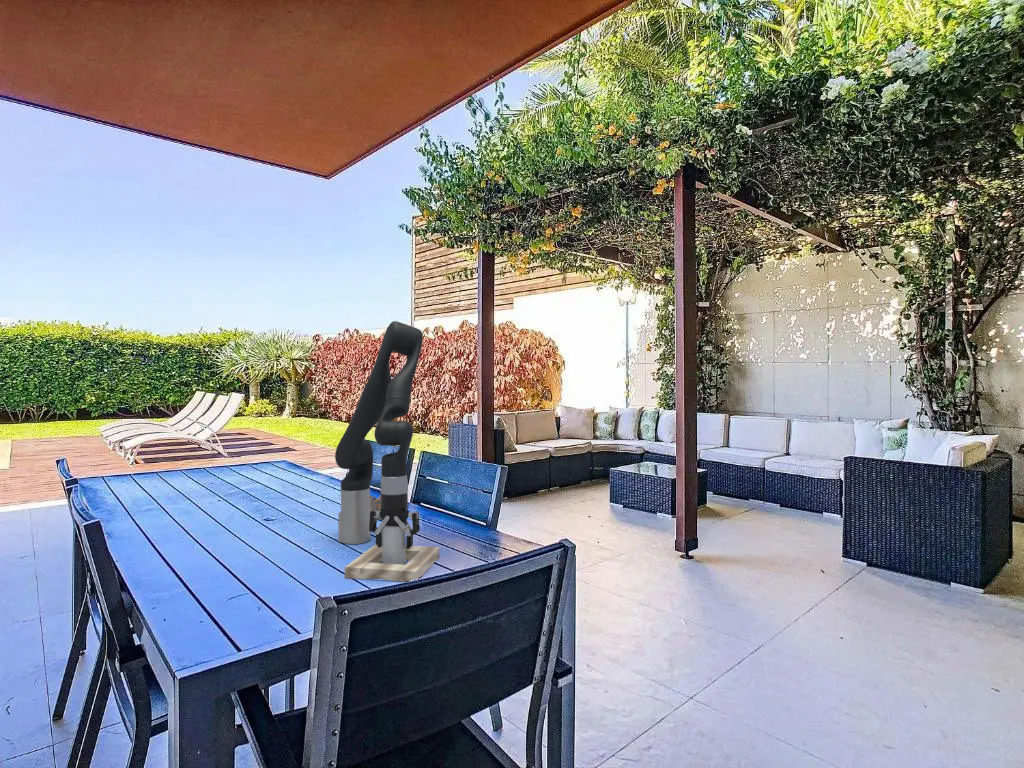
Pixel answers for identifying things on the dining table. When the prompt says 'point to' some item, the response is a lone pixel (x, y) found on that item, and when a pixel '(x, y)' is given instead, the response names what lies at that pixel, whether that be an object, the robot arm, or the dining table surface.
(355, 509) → the robot arm
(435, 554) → the socket block
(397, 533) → the skincare box
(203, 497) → the dining table surface
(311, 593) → the dining table surface
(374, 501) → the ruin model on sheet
